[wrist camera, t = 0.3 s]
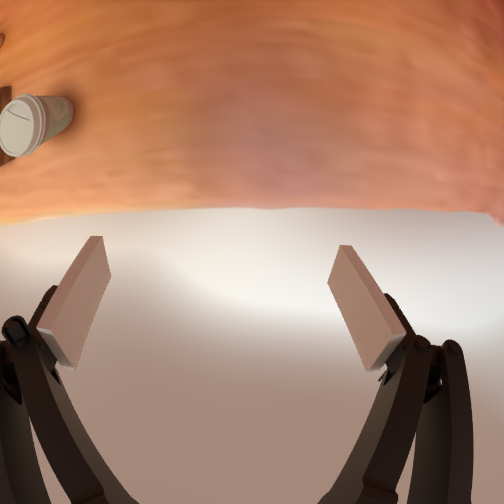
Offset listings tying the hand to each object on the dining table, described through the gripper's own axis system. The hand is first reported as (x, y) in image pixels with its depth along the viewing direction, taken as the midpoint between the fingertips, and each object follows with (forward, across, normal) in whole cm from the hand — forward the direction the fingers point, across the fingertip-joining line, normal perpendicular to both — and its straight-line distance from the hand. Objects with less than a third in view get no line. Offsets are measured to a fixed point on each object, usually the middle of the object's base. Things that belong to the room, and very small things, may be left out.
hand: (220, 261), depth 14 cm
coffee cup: (+28, -27, +7) cm, 39 cm away
